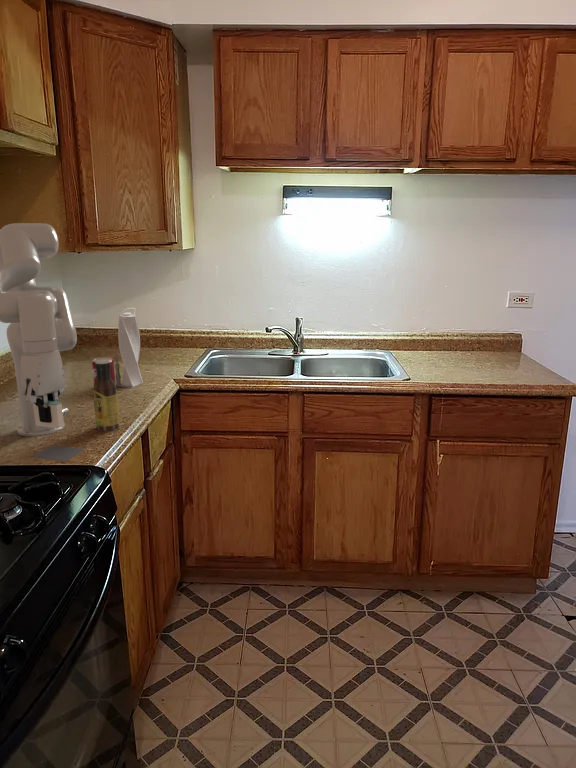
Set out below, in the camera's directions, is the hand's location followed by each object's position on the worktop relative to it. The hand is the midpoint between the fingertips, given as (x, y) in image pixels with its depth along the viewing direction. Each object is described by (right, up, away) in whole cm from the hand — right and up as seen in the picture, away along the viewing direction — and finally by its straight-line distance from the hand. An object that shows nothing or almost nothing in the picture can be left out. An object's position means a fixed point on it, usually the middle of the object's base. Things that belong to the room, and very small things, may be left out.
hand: (49, 420), depth 141 cm
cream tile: (0, -1, 0) cm, 1 cm away
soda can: (-5, +5, +58) cm, 59 cm away
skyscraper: (+1, +8, +70) cm, 70 cm away
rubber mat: (0, -9, +5) cm, 10 cm away
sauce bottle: (+7, -4, +23) cm, 24 cm away
